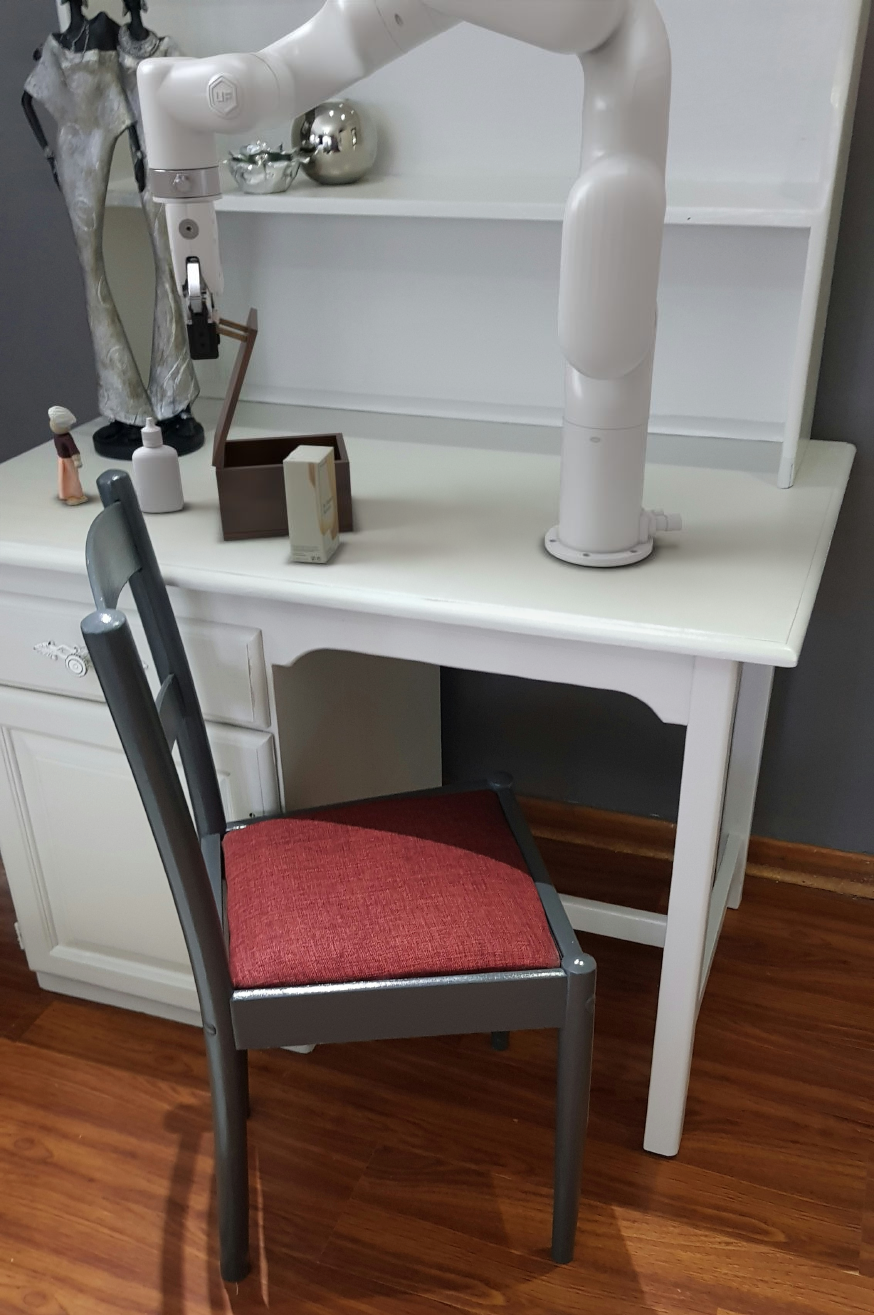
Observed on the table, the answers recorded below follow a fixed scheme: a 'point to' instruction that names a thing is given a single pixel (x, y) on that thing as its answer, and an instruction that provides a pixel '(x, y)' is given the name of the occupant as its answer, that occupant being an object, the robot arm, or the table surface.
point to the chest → (271, 484)
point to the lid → (233, 374)
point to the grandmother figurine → (66, 456)
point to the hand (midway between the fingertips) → (206, 350)
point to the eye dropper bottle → (157, 473)
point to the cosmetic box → (311, 503)
